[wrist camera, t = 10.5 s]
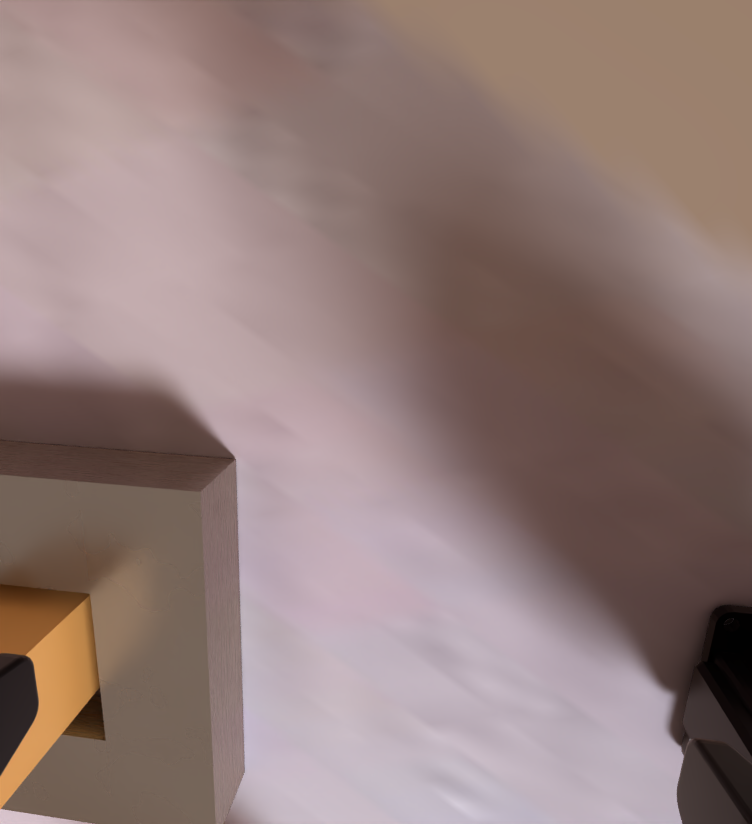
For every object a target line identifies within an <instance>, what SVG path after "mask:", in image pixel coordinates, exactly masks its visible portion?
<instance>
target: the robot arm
mask: <svg viewBox="0 0 752 824" xmlns="http://www.w3.org/2000/svg"><path fill="white" fill-rule="evenodd" d="M732 618H734V620H733V621H732V622H731V623H730V624H724V623H725V621H726V620H728V619H732ZM38 707H39V698H38V691H37V684H36V677H35V670H34V664H33V661H32V660H31V658H30V657H28V656H25V655H18V654H10V653H1V654H0V776H1V775H2V773H3V771H4V770H5V768H6V767H7V765H8V763H9V762H10V760H11V758H12V757H13V755H14V753H15V752H16V750H17V749H18V747H19V745H20V744H21V742H22V740H23V739H24V737H25V735H26V734H27V732H28V731H29V729H30V727H31V726H32V724H33V722H34V720H35V718H36V715H37V712H38ZM683 726H684V728H685V733H684V738H683V742H682V753H683V755H684V759H683V764H682V768H681V773H680V777H679V781H678V786H677V802H678V808H679V813H680V816H681V820H682V823H683V824H752V607H744V606H734V605H722V606H720V607H718V608H716V609H715V610H714V611H713V612H712V614H711V616H710V621H709V625H708V630H707V634H706V639H705V643H704V648H703V652H702V657H701V661H699V663H698V664H697V665H696V666H695V668H694V672H693V676H692V681H691V686H690V690H689V695H688V699H687V704H686V708H685V713H684V717H683Z"/></svg>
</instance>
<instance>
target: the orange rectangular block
mask: <svg viewBox="0 0 752 824" xmlns="http://www.w3.org/2000/svg"><path fill="white" fill-rule="evenodd" d="M1 653H10V654H18V655H25V656H28V657H30V658H31V660H32V661H33V664H34V670H35V677H36V684H37V691H38V698H39V707H38V712H37V715H36V718H35V720H34V722H33V724H32V726H31V727H30V729H29V731H28V732H27V734H26V735H25V737H24V739H23V740H22V742H21V744H20V745H19V747H18V749H17V750H16V752H15V753H14V755H13V757H12V758H11V760H10V762H9V763H8V765H7V767H6V768H5V770H4V771H3V773H2V775H1V776H0V809H1V808H2V807H3V805H4V804H5V803H6V802H7V801H8V799H9V798H10V797H11V796H12V794H13V793H14V792H15V791H16V789H17V788H18V787H19V786H20V785H21V783H22V782H23V781H24V780H25V778H26V777H27V776H28V775H29V774H30V772H31V771H32V770H33V769H34V767H35V766H36V765H37V764H38V762H39V761H40V760H41V759H42V758H43V756H44V755H45V754H46V753H47V751H48V750H49V749H50V748H51V747H52V745H53V744H54V743H55V742H56V740H57V739H58V738H59V737H60V735H61V734H62V733H63V732H64V731H65V729H66V728H67V727H68V726H69V724H70V723H71V722H72V721H73V720H74V718H75V717H76V716H77V715H78V713H79V712H80V711H81V710H82V708H83V707H84V706H85V705H86V704H87V702H88V701H89V700H90V699H91V697H92V696H93V695H94V694H95V693H96V691H97V690H98V689H99V688H100V682H99V673H98V664H97V654H96V645H95V636H94V626H93V617H92V608H91V598H90V594H87V593H78V592H68V591H59V590H50V589H41V588H32V587H23V586H14V585H4V584H0V654H1Z"/></svg>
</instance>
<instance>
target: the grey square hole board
mask: <svg viewBox="0 0 752 824" xmlns="http://www.w3.org/2000/svg"><path fill="white" fill-rule="evenodd" d="M0 584H4V585H14V586H23V587H32V588H41V589H50V590H59V591H68V592H78V593H87V594H90V598H91V608H92V617H93V626H94V636H95V645H96V654H97V664H98V673H99V682H100V688H99V689H98V690H97V691H96V693H95V694H94V695H93V696H92V697H91V699H90V700H89V701H88V702H87V704H86V705H85V706H84V707H83V708H82V710H81V711H80V712H79V713H78V715H77V716H76V717H75V718H74V720H73V721H72V722H71V723H70V724H69V726H68V727H67V728H66V729H65V731H64V732H63V733H62V734H61V735H60V737H59V738H58V739H57V740H56V742H55V743H54V744H53V745H52V747H51V748H50V749H49V750H48V751H47V753H46V754H45V755H44V756H43V758H42V759H41V760H40V761H39V762H38V764H37V765H36V766H35V767H34V769H33V770H32V771H31V772H30V774H29V775H28V776H27V777H26V778H25V780H24V781H23V782H22V783H21V785H20V786H19V787H18V788H17V789H16V791H15V792H14V793H13V794H12V796H11V797H10V798H9V799H8V801H7V802H6V803H5V804H4V805H3V807H2V808H1V809H5V810H11V811H17V812H24V813H30V814H37V815H43V816H50V817H56V818H62V819H69V820H75V821H82V822H88V823H95V824H224V823H225V820H226V818H227V815H228V813H229V810H230V808H231V805H232V803H233V800H234V798H235V795H236V793H237V790H238V788H239V785H240V782H241V780H242V777H243V775H244V772H245V768H244V732H243V697H242V662H241V626H240V591H239V556H238V521H237V485H236V459H227V458H215V457H202V456H190V455H177V454H165V453H152V452H139V451H127V450H114V449H102V448H89V447H77V446H64V445H52V444H39V443H27V442H14V441H2V440H0Z"/></svg>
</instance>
